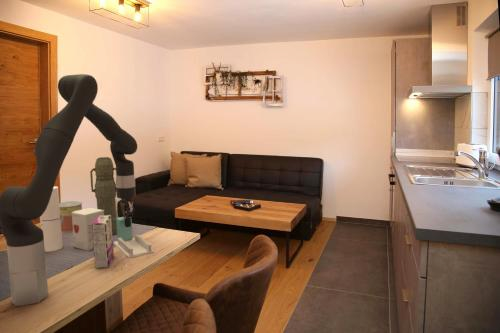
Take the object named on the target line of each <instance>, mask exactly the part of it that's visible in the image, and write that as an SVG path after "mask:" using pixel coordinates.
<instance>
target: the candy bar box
mask: <svg viewBox="0 0 500 333" xmlns="http://www.w3.org/2000/svg"><path fill="white" fill-rule="evenodd" d="M92 232H93V245H94V249H93V254H94V255H93V257H94V258H93V259H94V269H104V268H107V269H108V268H109V267H110V266H111V263H112V261H113V259H114V256H115V255H114V244H113V242H114V241H113V240H114V239H113V237H114V236H112V222H111V215H103V216H102V215H101V216H98V217H97V218H96V220H95V221H94V222H93V224H92Z"/></svg>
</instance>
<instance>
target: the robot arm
mask: <svg viewBox="0 0 500 333" xmlns="http://www.w3.org/2000/svg"><path fill="white" fill-rule="evenodd" d="M98 90H99V88H98V82H97V80H96V78H95V77H94V76H92V75H91V74H85V73H84V74H83V73H80V74H78V73H77V74H68V75H67V74H66V75H64V76H62V77H60V78H59V80H58V82H57V91H58V93H59V95H60V97H62V99H63V100H64V101H65V102H66V105H65V106H64V107H63V108H62V109H61V110H60V111H58V112H57V113H56V114H55V115H54V116H52V117H51V118H50V119H49V120H48V121H47V122H46V123H45V124H44V126H43V127H42V128H41V130H40V132H39V135H38V137H37V139H36V141H35V143H34V155H35V161H36V162H35V163H36V169H35V172H34V174H33V177H32V179H31V181H30V182H29V184H28V186H18V185H17V186H16V185H15V186H13V185H12V186H9V187H7V188H5V189H4V190H3V191H2V192H1V194H0V227H1V228H0V229H1V234H2V236H3V238H4V239H5V243H6V252H7V262H8V263H7V264H8V275H9V284H10V285H9V286H10V294H11V296H10V297H11V303H12V304H14V307H19V306H20V307H21V306H26V305H34V304H38V303H39V304H40V302H41V301H42V300H45V299H46V298H47V297H48V295H49V287H48V286H49V285H48V276H47V275H48V273H47V263H46V261H47V260H46V251H45V247H44V234H43V230H42V229H41V227H39V226H37V225H36V224H34V223H35V222H33V220H37V219H40V216H41V215H42V214H43V213H44V212H45V210H46V208H47V206H48V203H49V200H50V197H51V194H52V191H53V188H54V186H55V185H56V181H57V178H58V176H59V174H60V171H61V168H62V166H63V164H64V161H65V160H66V157H67V155H68V153H69V150H70V149H71V146H72V145H73V142H74V139H75V137H76V134H77V133H78V130H79V128H80V126H81V125H82V122H83V120H84V118H86V120H88V121H89V122H90V123H91V124H92V125H93V126H94V127H95V128H96V129H97V131H99V133H101V135H102V136H103V137H104V138H105V139H106V140H107V141H108V142H110V144H109V150H110V153H111V155H112V156H111V157H112V159H113V162H114V165H115V168H116V170H115V176H116V177H115V184H116V198H117V199H121V200H120V202H119V207H120V208H119V209H120V212H121V215H122V217H124V223H125V227H130V226H131V219H132V218H133V217H134V213H135V206H133V205H134V202H133V200H132V199H133V198H136V196H137V194H136V193H137V192H136V176H135V165H134V162H133V160H129V159H127V158H126V155H128V156H129V155H133V154H135V153H136V152H137V150H138V142H137V141H136V139H135V137H133V136H132V134H130V133H129V132H128V131H126V130H125V129H123V128H122V127H121V126H120V125H119V122H117V121H116V119H115V118H114V117H112V115H111V114H109V113H108V112H106V111H105V110H104V109H102V108H100V107H99V106H97V105H95V104H94V101H95V99H96V97H97V96H98Z"/></svg>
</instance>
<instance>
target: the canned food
mask: <svg viewBox="0 0 500 333" xmlns="http://www.w3.org/2000/svg"><path fill="white" fill-rule="evenodd" d="M82 204H83V203H82V201H74V200H73V201H65V202H64V201H63V202H59V206H60V220H61V233H73V225H72V212H74V211H78V210H82V209H83V206H82Z"/></svg>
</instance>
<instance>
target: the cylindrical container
mask: <svg viewBox="0 0 500 333" xmlns="http://www.w3.org/2000/svg"><path fill="white" fill-rule="evenodd" d="M59 197H60V195H59V187H58V186H55V185H54V188H53V191H52V194H51V197H50V200H49V203H48V206H47V208H46V210H45V212H44V213H43V214H42V215H41V216H40V217H39V223H40V228H41V229H42V230H43V234H44V247H45V253H47V252H48V253H49V252H56V251H60V250H62V249H63V237H62V236H63V235H62V234H63V232H61V220H60V206H59V203H60V198H59Z"/></svg>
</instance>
